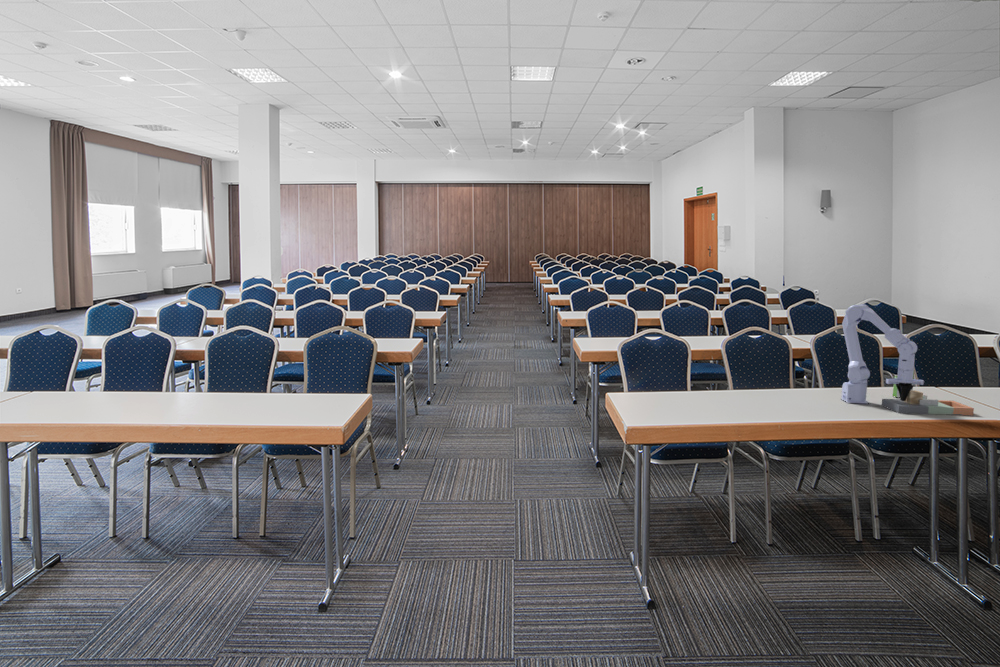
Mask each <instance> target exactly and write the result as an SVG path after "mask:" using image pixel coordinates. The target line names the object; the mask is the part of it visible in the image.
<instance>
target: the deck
mask: <svg viewBox="0 0 1000 667" xmlns="http://www.w3.org/2000/svg"><path fill="white" fill-rule="evenodd" d="M881 400H882V401H881V406H882V405H883V407H884V406H885V407H884V408H886V407H888V408H890V409H889V410H891V409H892V410H891V411H893V410H894V411H893V412H895V411H896V412H895V413H897V412H898V413H897V414H912V413H919V414H922V415H946V414H962V415H961V416H974V410H975V408H974V407H972V406H968V405H966V404H963V403H961V402H957V401H955V400H946V399H945V400H940V399H938V400H939V401H938V406H919V405H918V404H908V403H906V402H904V401H901V400H900V398H881ZM888 408H887V409H888ZM919 414H918V415H919Z"/></svg>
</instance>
